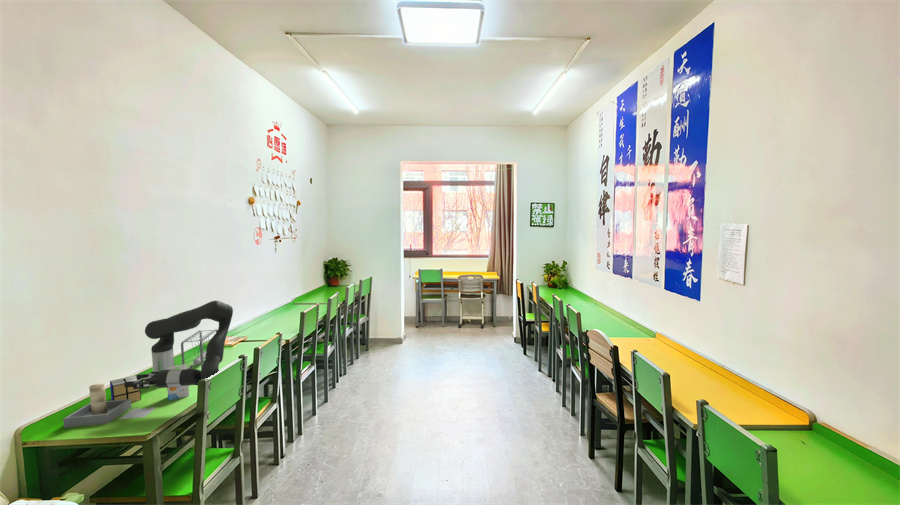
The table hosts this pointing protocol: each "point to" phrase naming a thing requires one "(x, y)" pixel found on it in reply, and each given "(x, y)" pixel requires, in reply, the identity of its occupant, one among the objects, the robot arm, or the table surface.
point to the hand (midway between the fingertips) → (130, 380)
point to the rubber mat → (137, 413)
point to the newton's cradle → (202, 354)
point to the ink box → (177, 391)
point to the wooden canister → (98, 399)
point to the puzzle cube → (124, 390)
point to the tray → (86, 417)
